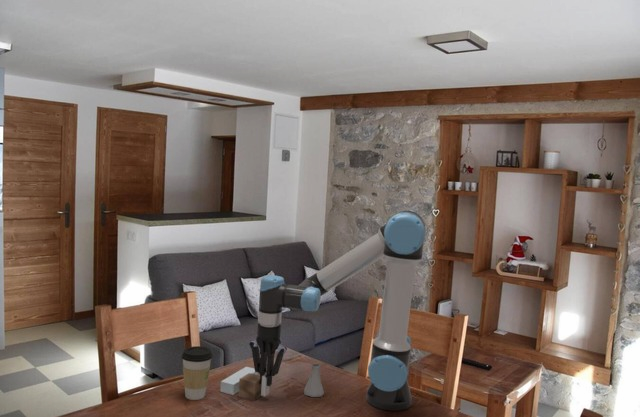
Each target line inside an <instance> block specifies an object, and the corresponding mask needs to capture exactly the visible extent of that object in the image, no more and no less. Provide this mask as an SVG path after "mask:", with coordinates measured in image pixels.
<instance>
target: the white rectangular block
mask: <svg viewBox="0 0 640 417" xmlns="http://www.w3.org/2000/svg"><path fill="white" fill-rule="evenodd" d="M248 373H251V374H255V375H259V373H258V372H255V368H254V367H249V366H245V367H243V368H241V369H240V370H238V371H236V372H235V373H233V374H231V375H229V376H228V377H226V378H225V379H223V380H221V381H220V390H219V391H220V393H224V394H228V395H230V396H231V395H232V396H234V395H235V394H238V393H239V381H240V378H242V377H244V376H245V375H247V374H248Z"/></svg>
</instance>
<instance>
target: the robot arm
mask: <svg viewBox="0 0 640 417" xmlns="http://www.w3.org/2000/svg"><path fill="white" fill-rule="evenodd" d="M426 230H427V229H426V223H425V221H424V219H423V218H422V217H421V216H420V214H418V213H416V212H414V211H411V210H403V211H399V212H398V213H396V214H395V215H393V216H391V217H390V219H388V221H387V222H386V223H385V224H383V226H381V227H379V228H378V232H377V233H375V234H374V235H373V236H371V237H369V238H367V239H366V240H365V241H363V242H361V243H360V244H358V245H357V246H356V247H354V248H353V249H351V250H350V251H348V252H346V253H345V254H343V255H341V256H339V257H338V258H337V259H336V260H334V261H333V262H331V263H330V264H328V265H326V266H324V267H323V268H321V269H320V270H318V271H317V272H316V273H314V274H312V275H311V276H308V277H306V278H305V279H304V280H303V281H301V283H299V284H298V285H296V284H288V283H285V278H284V277H283V276H279V275H272V274H269V275H264V276H263V277H262V278H261V279H260V287H259V301H258V313H257V314H258V316H257V322H258V323H257V331H256V333H257V336H256V338H255V340H252V341H250V342H249V344H248V345H249V346H250V347H249V348H250V349H251V352H252V353H251V354H252V361H253V368H254V369H255V372H258V375H259V376H260V384H262V387H261V397H267V396H268V395H269V394H270V387H271V385H272V384H273V383H272V382H273V377H274V376H277V375H278V373H279V371H280V367H281V365H282V362H283V358H284V354H285V353H286V352H287V351H288V348H287V346H283V345H282V344H281V343H282V342H281V339H280V338H281V332H282V330H281V329H282V315H283V312H282V311H283V308H284V309H290V310H291V309H292V310H297V311H298V310H299V311H304V312H316V311H318V310H319V309H320V308H319V307H320V304H321V299H322V298H321V297H322V296H324V295H325V294H327V293H328V292H330V291H331V290H333V289H334V288H336V287H338V286H340V285H341V284H342V283H344V282H346V281H347V280H349V279H350V278H352V277H353V276H355V275H357V274H358V273H360V272H361V271H363V270H364V269H366V268H369V267H370V266H371V265H373V264H375V263H376V262H377V261H379V260H380V259H382V258H385V259H386V261H387V263H386V268H385V269H386V271H385V279H384V286H383V297H382V304H381V312H380V322H379V330H378V333H376V336H375V338H374V339H373V341H372V346H371V355H370V362H369V364H368V366H367V373H368V378H369V380H370V383H369V385H368V387H367V390H366V396H365V399H366V402H367V403H368V404H369V405H371V406H373V407H375V408H376V409H380V410H385V411H395V412H398V411H404V410H407V409H409V408H410V407H411V406H412V398H413V397H412V393H411V389H410V385H409V373H410V371H409V370H410V357H411V349H412V348H411V347H412V338H411V337H410V336H409V335H408V333H409V332H408V331H409V321H410V314H411V307H412V306H411V305H412V297H413V290H414V281H415V273H416V267H417V264H418V263H419V262H421V261H422V258H423V252H424V243H425V242H424V241H425V239H426V238H425V237H426ZM276 351H277V353H276ZM275 354H276V357H275Z"/></svg>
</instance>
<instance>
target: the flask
mask: <svg viewBox="0 0 640 417" xmlns="http://www.w3.org/2000/svg"><path fill="white" fill-rule="evenodd" d="M310 366H311V372H310V375H309V377H308V379H307V380H308V381H307V382H306V385H305V387H304V389H303V393H304V395H305V396H309V397H311V398H321V397H323V395H325V391H324V387H323V384H322V380H321V375H320V368H321V363H320V364H319V363H318V362H316V363H315V362H313V363H311V365H310Z"/></svg>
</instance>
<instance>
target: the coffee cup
mask: <svg viewBox="0 0 640 417" xmlns="http://www.w3.org/2000/svg"><path fill="white" fill-rule="evenodd" d="M181 359H182V371H183V372H182V373H183V386H184V395H185V398H186V399H187V400H191V401H196V400H202V399H203V398H205V396H206V390H207V386H208V382H209V377H210V376H209V375H210V370H211V369H210V368H211V362H212V359H213V353H212V349H210V348H209V347H207V346H206V347H205V346H201V345H200V346H195V345H194V346H189V347H187V348H184V350H183V352H182V354H181Z"/></svg>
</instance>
